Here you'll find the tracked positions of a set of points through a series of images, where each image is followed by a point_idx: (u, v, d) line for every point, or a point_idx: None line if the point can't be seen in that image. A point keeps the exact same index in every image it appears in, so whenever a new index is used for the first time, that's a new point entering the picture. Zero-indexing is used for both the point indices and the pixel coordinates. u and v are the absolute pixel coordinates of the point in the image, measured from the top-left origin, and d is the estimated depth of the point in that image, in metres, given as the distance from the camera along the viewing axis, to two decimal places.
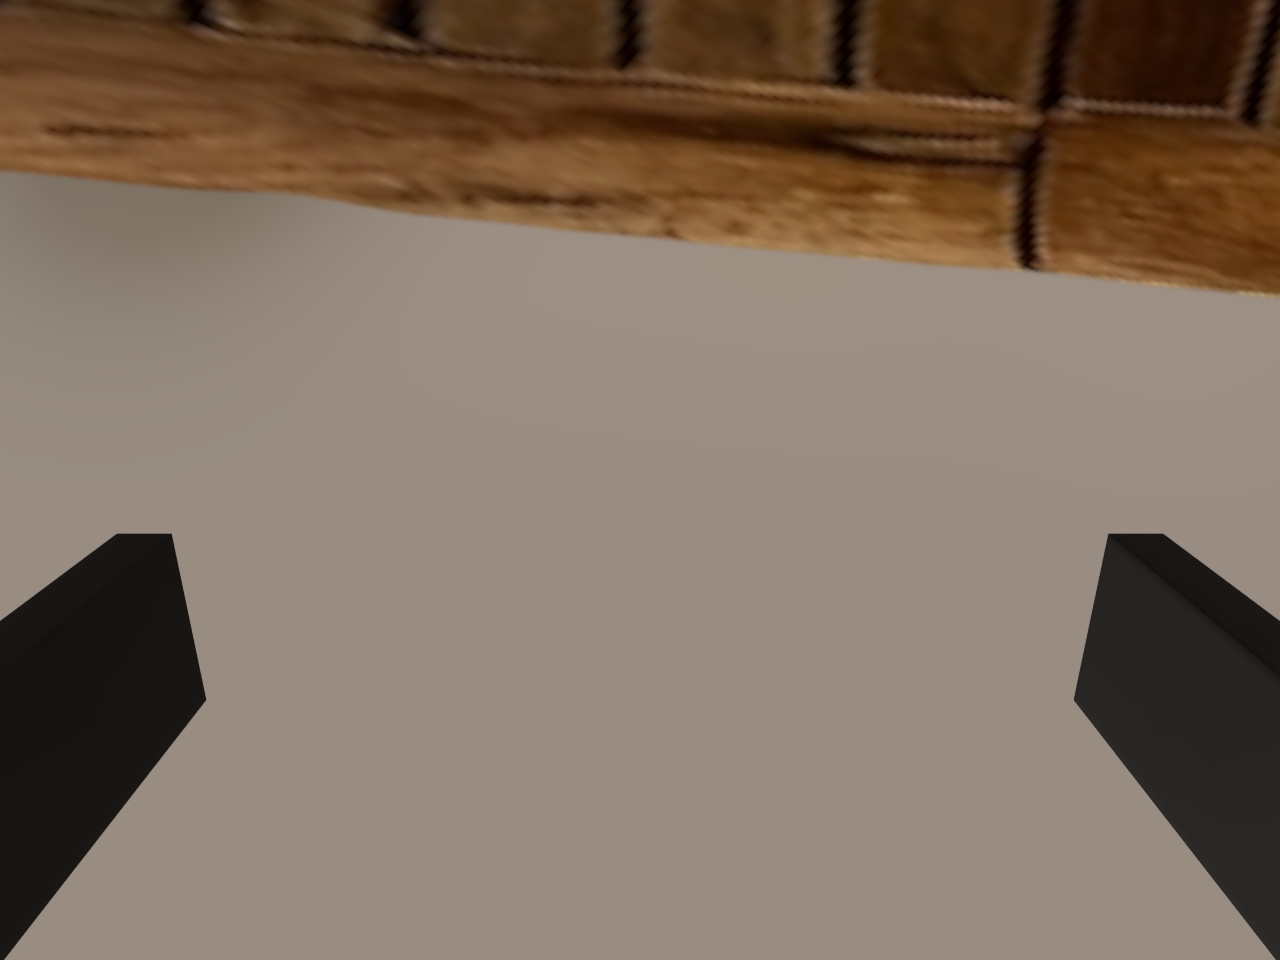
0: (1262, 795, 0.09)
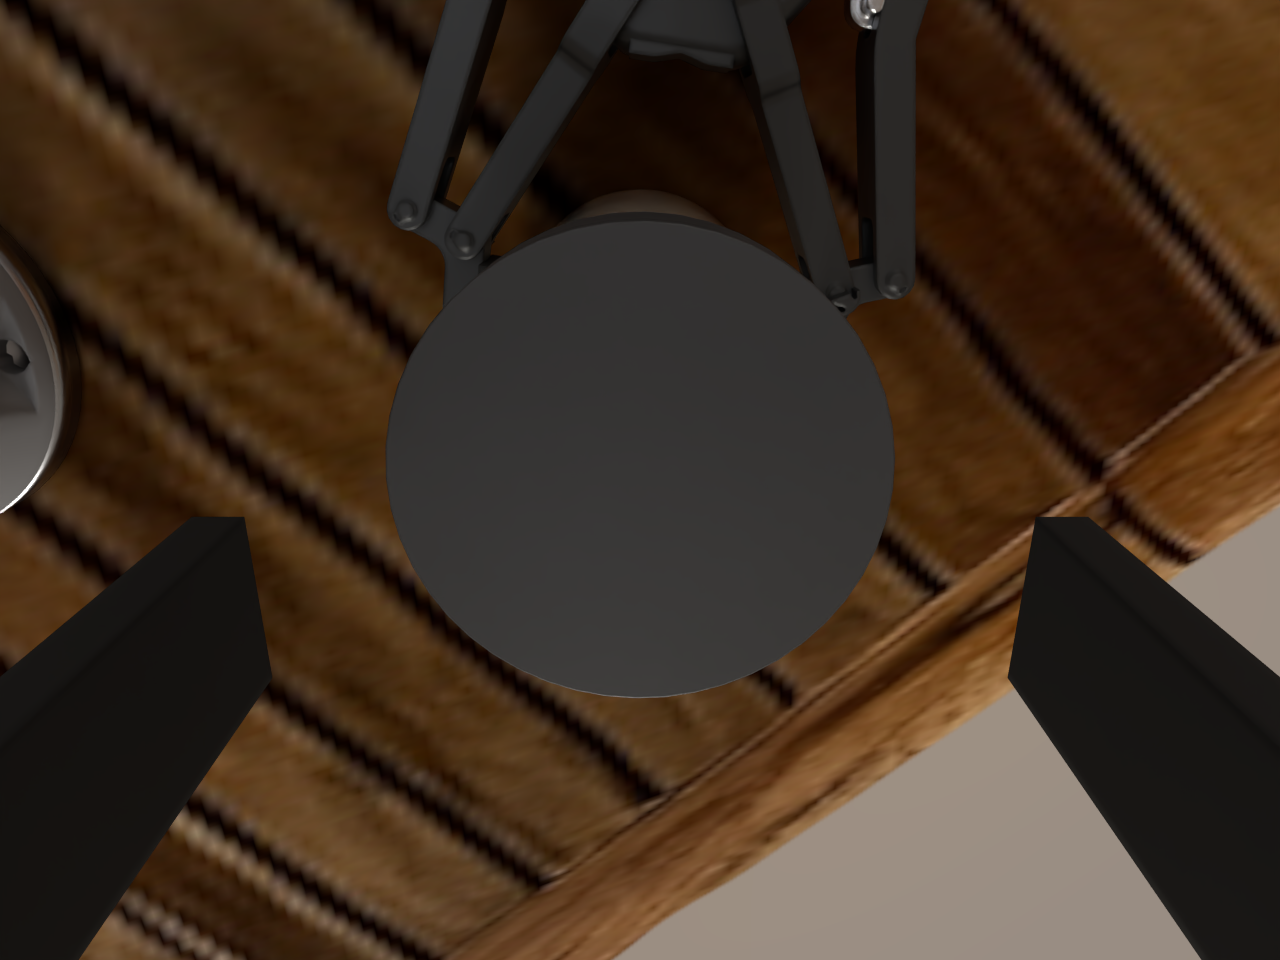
0: (1158, 759, 0.10)
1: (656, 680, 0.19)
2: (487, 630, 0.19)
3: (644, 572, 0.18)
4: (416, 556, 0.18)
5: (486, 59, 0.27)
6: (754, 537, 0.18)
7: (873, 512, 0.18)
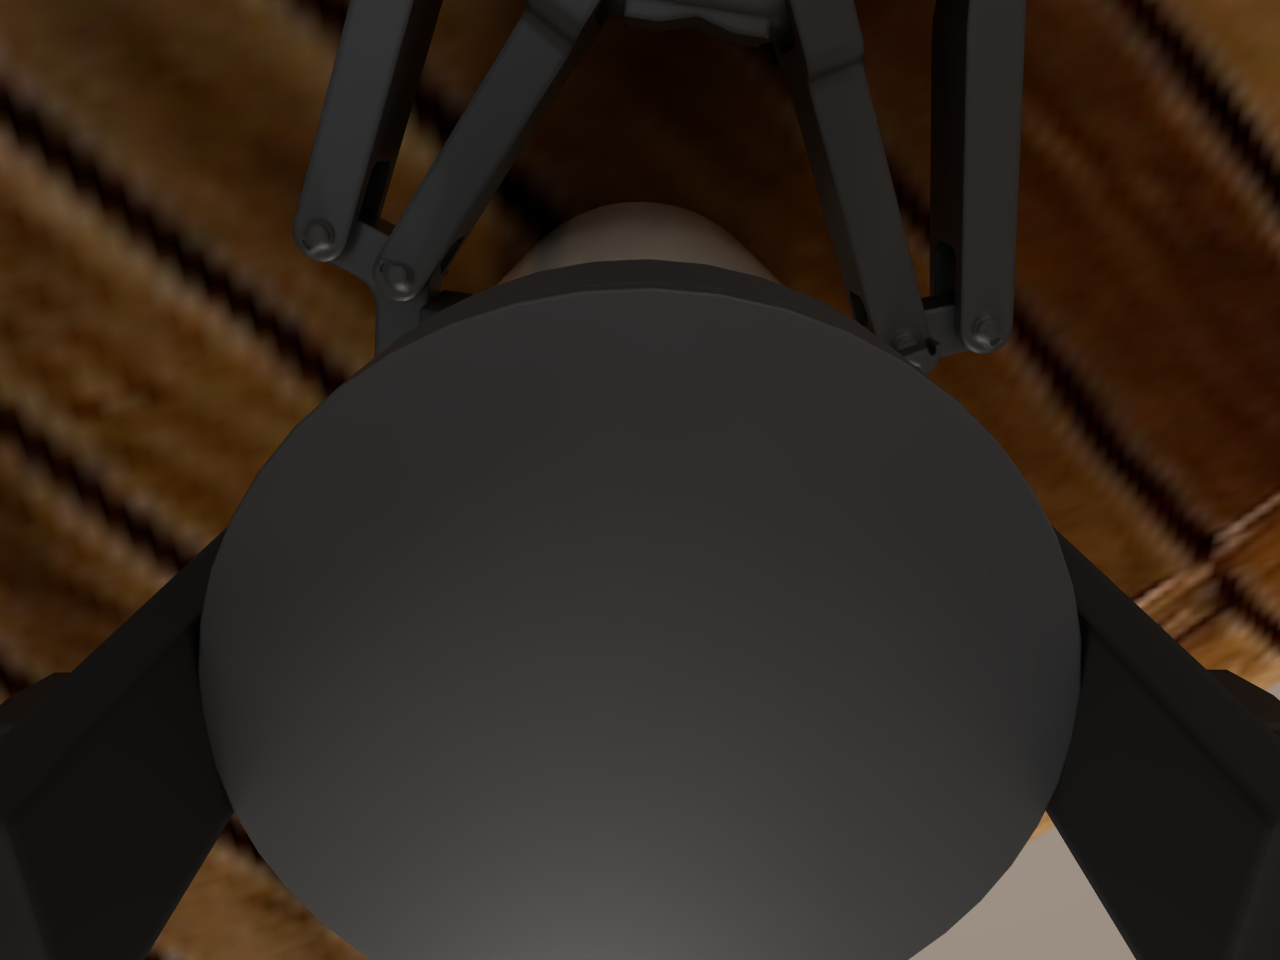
0: (1080, 734, 0.10)
1: None
2: (389, 943, 0.11)
3: (647, 860, 0.11)
4: (264, 837, 0.11)
5: (429, 28, 0.20)
6: (833, 809, 0.11)
7: (1038, 772, 0.10)
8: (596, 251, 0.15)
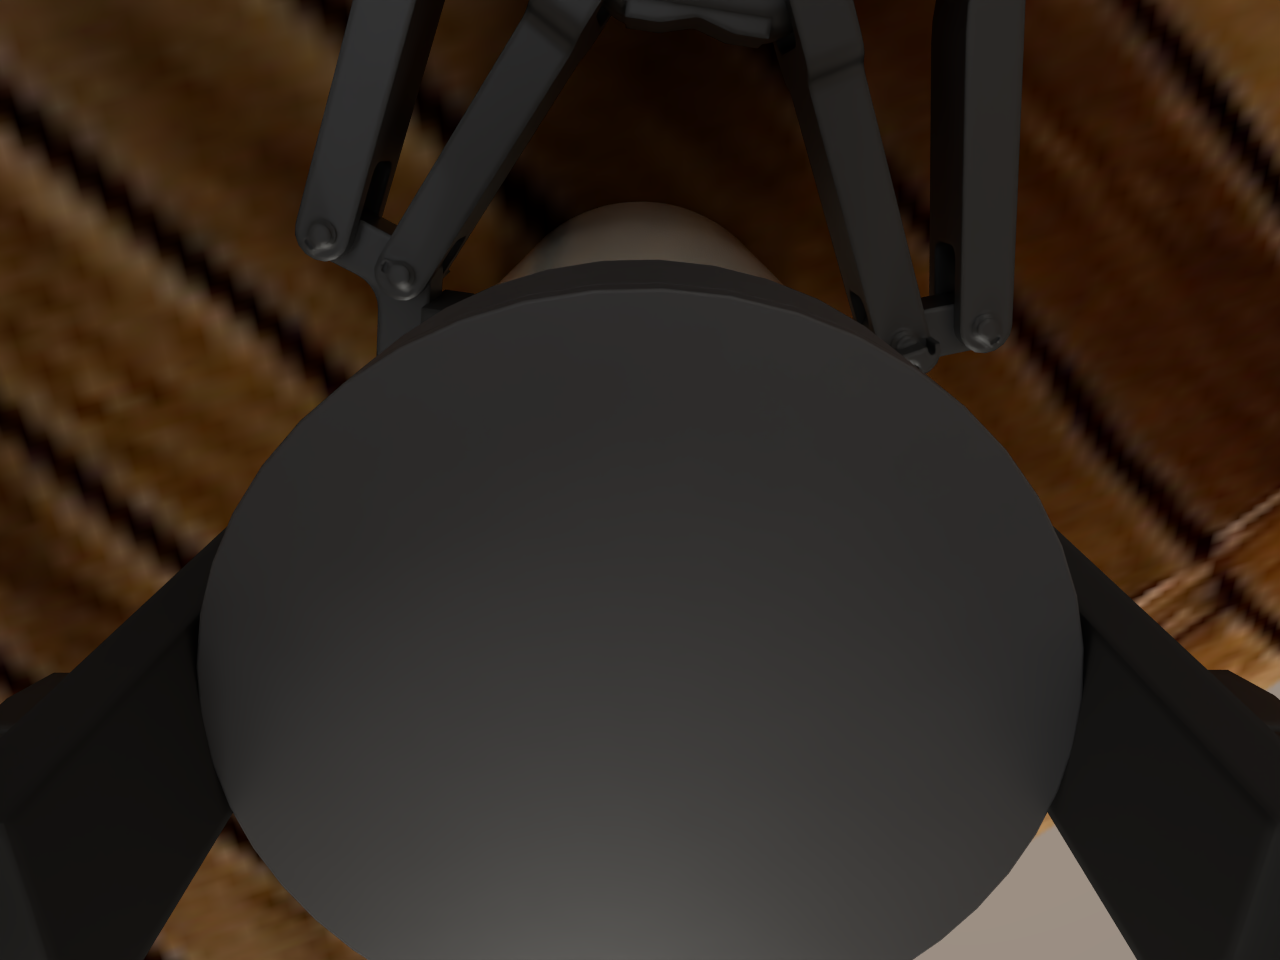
0: (1081, 735, 0.10)
1: (971, 870, 0.11)
2: None
3: (785, 796, 0.10)
4: None
5: (431, 28, 0.20)
6: (840, 625, 0.10)
7: (934, 424, 0.09)
8: (597, 250, 0.15)
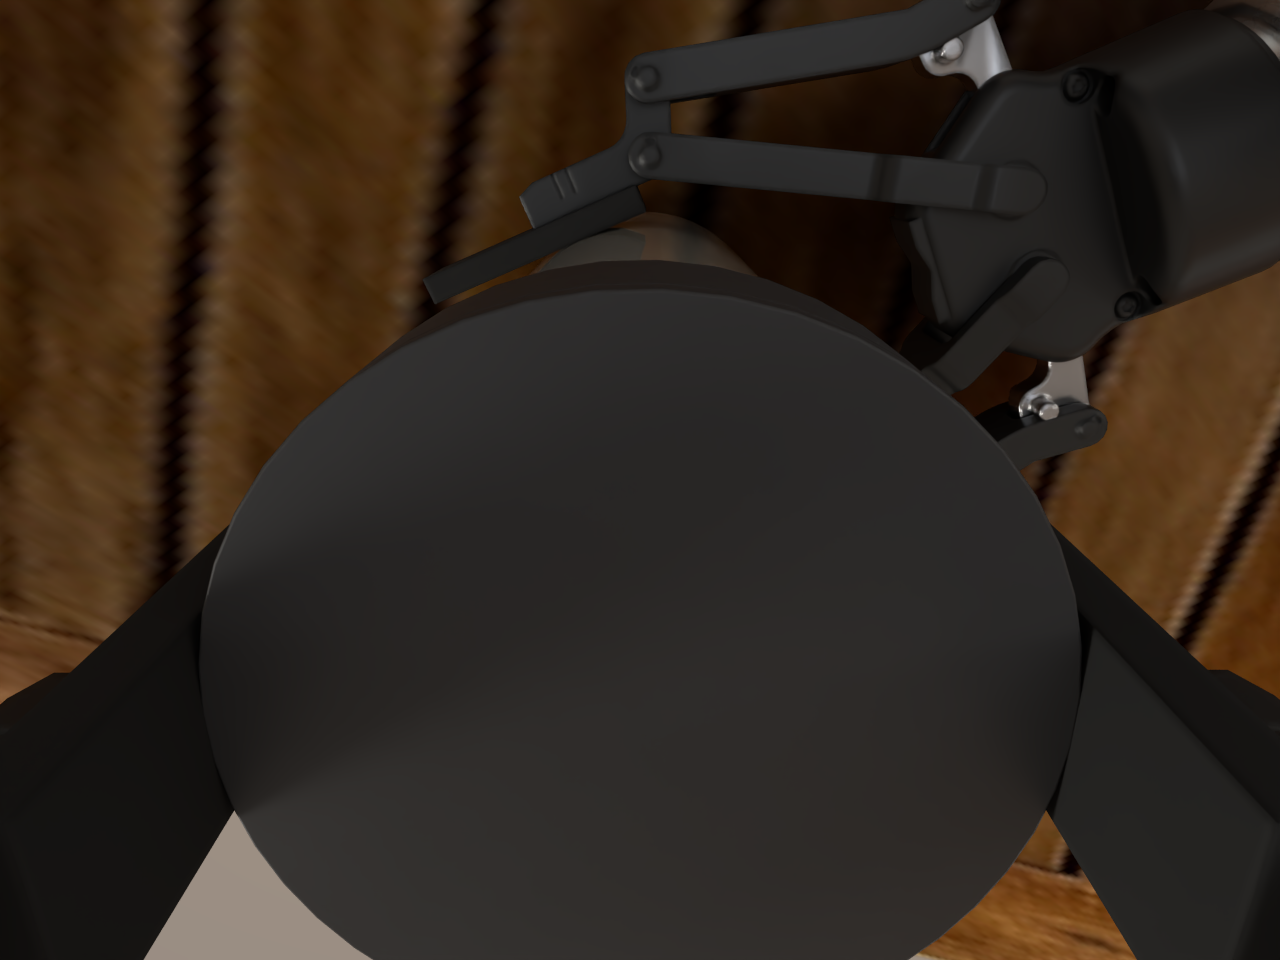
0: (1081, 734, 0.10)
1: (970, 868, 0.11)
2: None
3: (784, 794, 0.11)
4: None
5: (823, 78, 0.25)
6: (840, 624, 0.10)
7: (933, 423, 0.09)
8: None
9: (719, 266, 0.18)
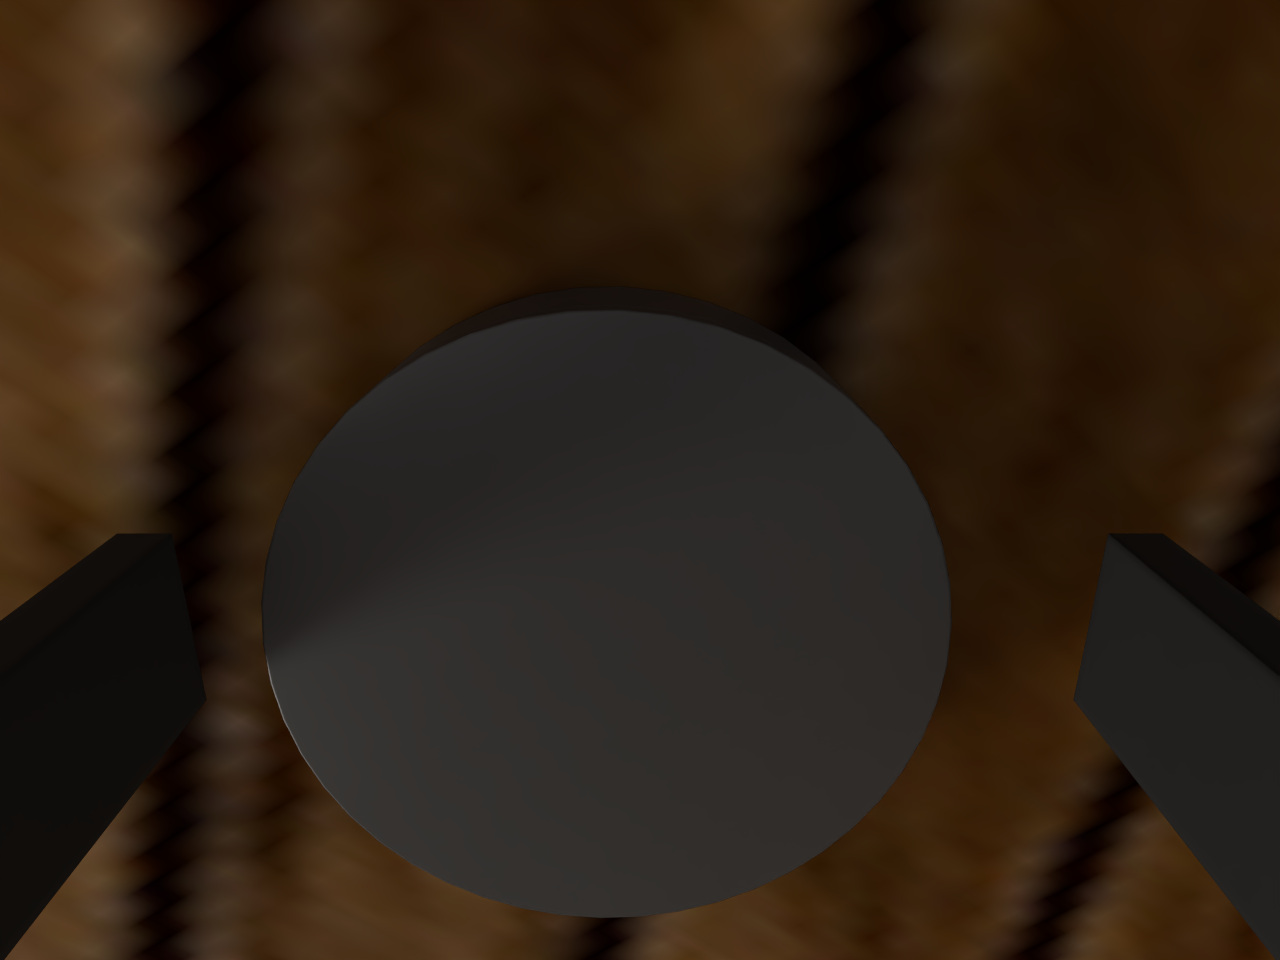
0: (1262, 795, 0.09)
1: (873, 767, 0.14)
2: (683, 891, 0.15)
3: (723, 707, 0.13)
4: (551, 905, 0.15)
5: None
6: (762, 567, 0.13)
7: (826, 410, 0.12)
8: None
9: None
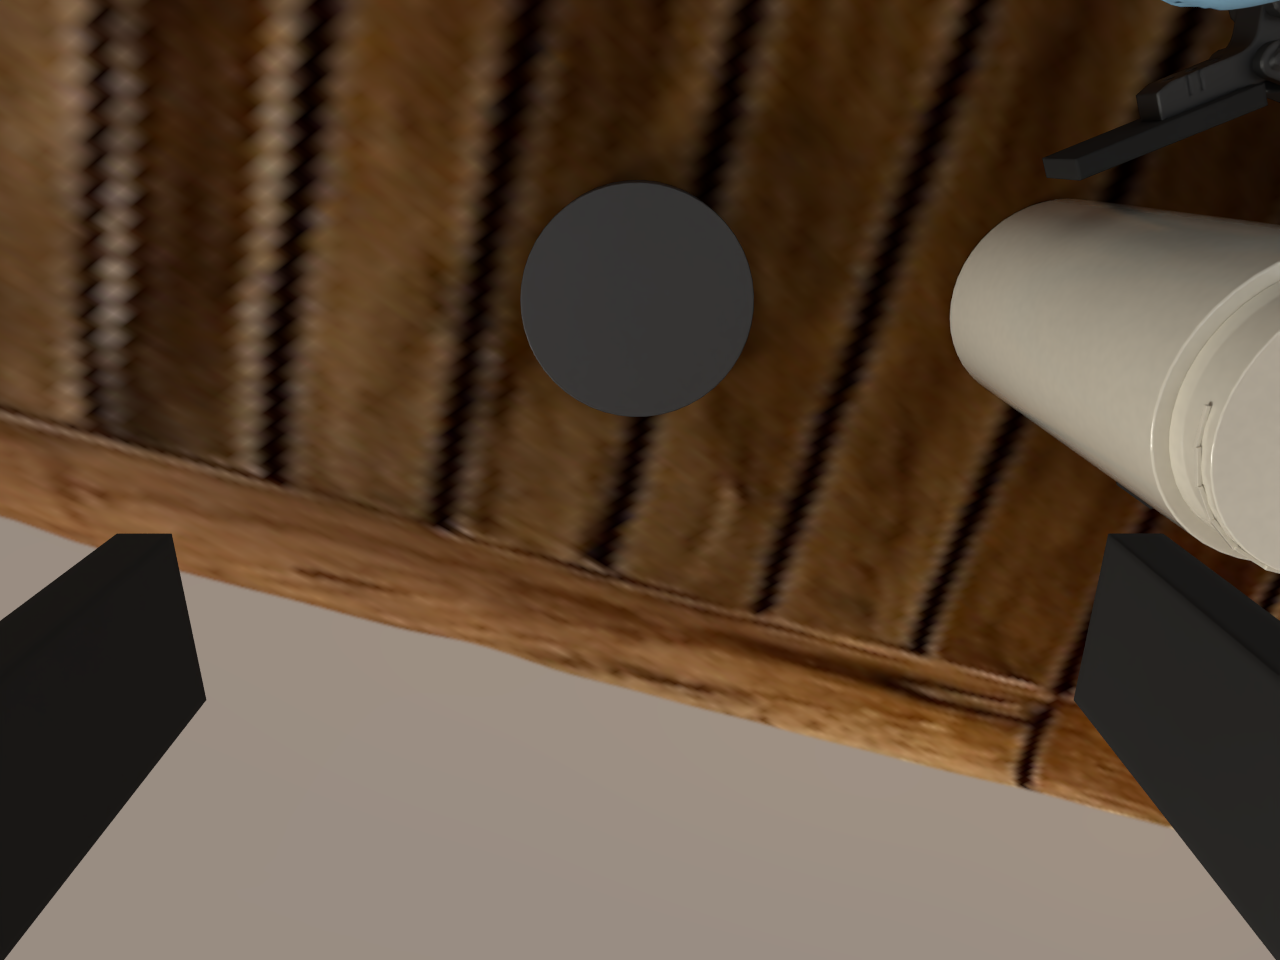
0: (1262, 795, 0.09)
1: (730, 352, 0.39)
2: (663, 405, 0.40)
3: (676, 326, 0.39)
4: (615, 410, 0.40)
5: None
6: (688, 272, 0.38)
7: (707, 216, 0.37)
8: None
9: None
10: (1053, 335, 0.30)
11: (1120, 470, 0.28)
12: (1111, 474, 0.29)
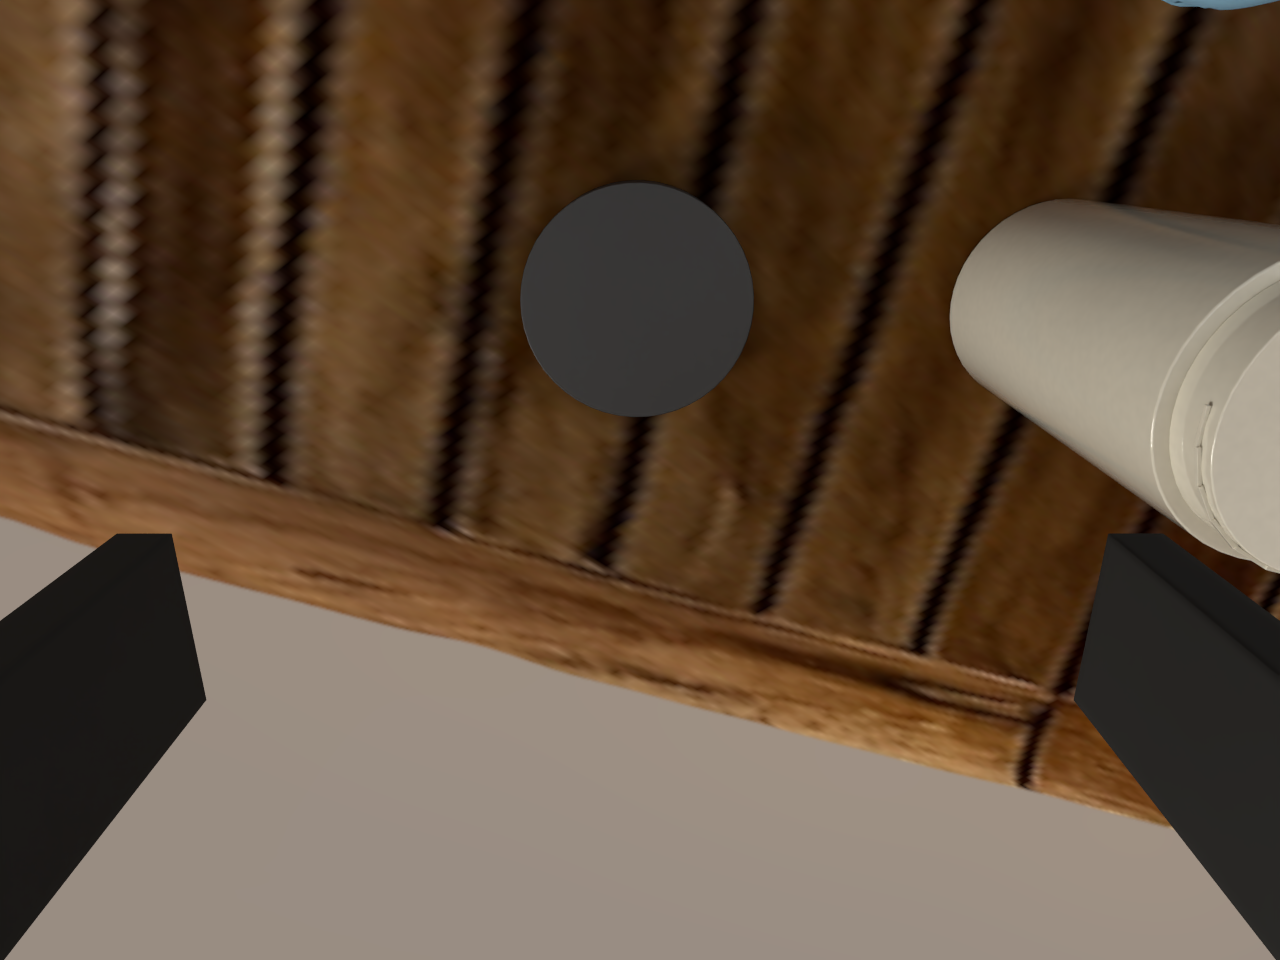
0: (1260, 795, 0.09)
1: (730, 352, 0.39)
2: (663, 405, 0.40)
3: (676, 326, 0.38)
4: (614, 410, 0.40)
5: None
6: (688, 272, 0.38)
7: (707, 216, 0.37)
8: None
9: None
10: (1053, 335, 0.30)
11: (1120, 470, 0.28)
12: (1111, 474, 0.29)
